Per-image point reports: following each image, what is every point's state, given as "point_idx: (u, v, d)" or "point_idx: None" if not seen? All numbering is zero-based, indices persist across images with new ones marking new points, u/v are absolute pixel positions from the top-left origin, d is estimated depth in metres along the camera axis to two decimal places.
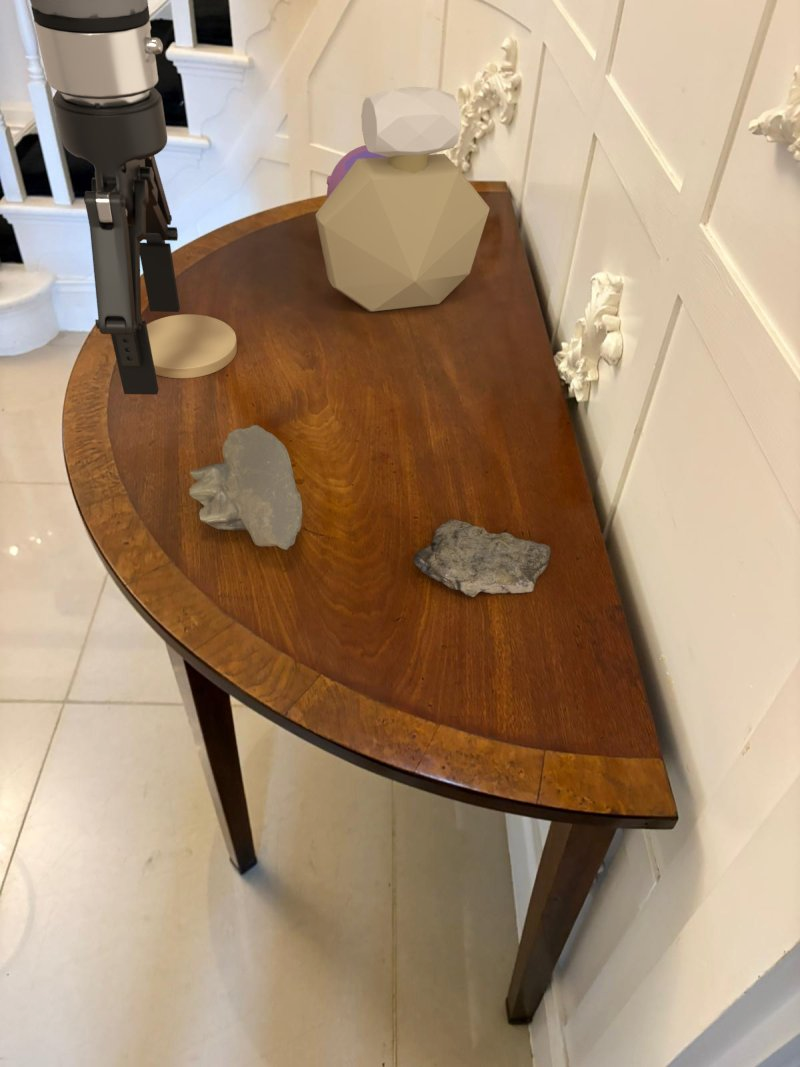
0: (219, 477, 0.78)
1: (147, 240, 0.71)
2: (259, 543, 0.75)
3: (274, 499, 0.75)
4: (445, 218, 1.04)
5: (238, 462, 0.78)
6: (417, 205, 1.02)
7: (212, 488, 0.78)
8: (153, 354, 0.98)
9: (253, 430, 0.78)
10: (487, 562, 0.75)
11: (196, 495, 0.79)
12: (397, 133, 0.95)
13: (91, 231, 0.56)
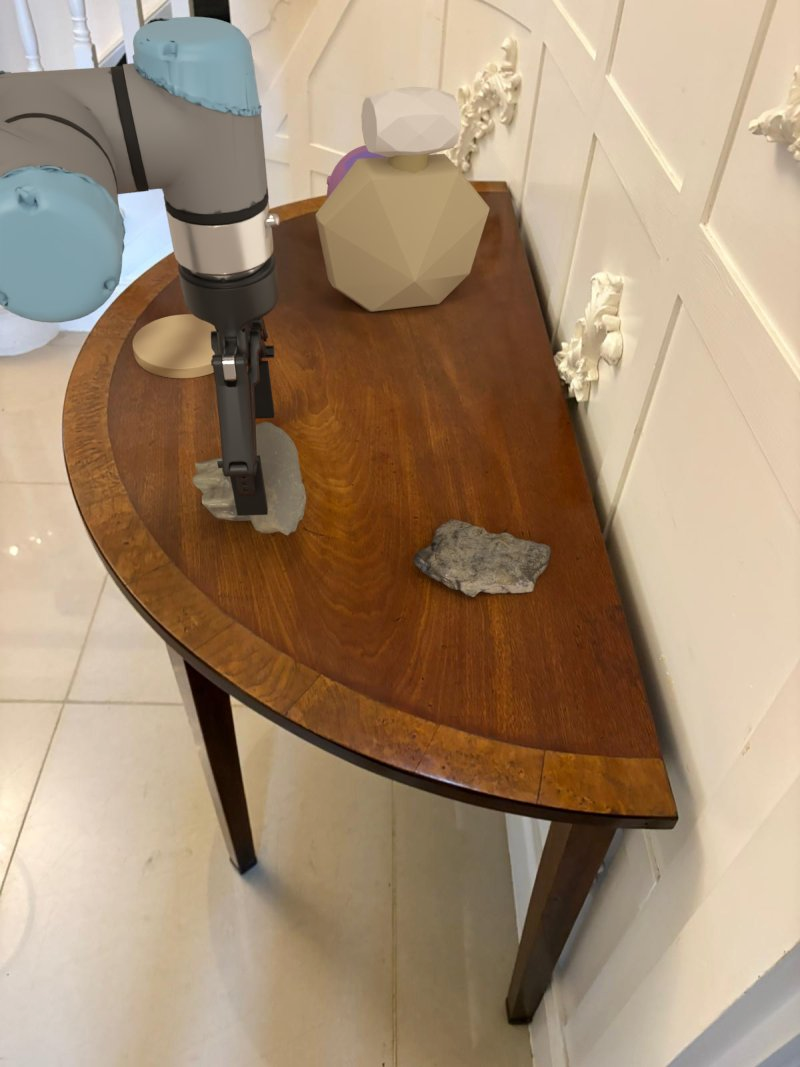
0: None
1: None
2: (260, 527, 0.74)
3: (279, 487, 0.75)
4: (445, 218, 1.04)
5: None
6: (417, 205, 1.02)
7: (217, 477, 0.78)
8: (153, 354, 0.98)
9: (263, 425, 0.80)
10: (487, 562, 0.75)
11: (199, 483, 0.79)
12: (397, 133, 0.95)
13: (217, 389, 0.61)
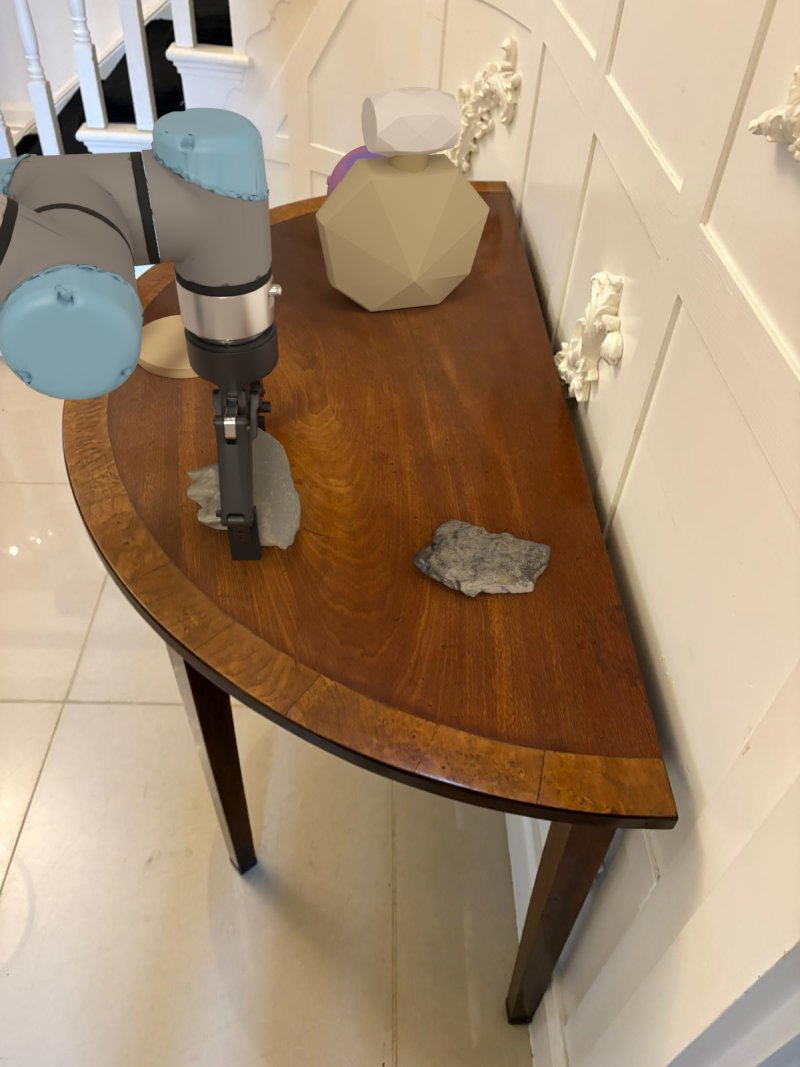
0: (217, 477, 0.78)
1: None
2: None
3: (272, 499, 0.75)
4: (445, 218, 1.04)
5: None
6: (417, 205, 1.02)
7: (210, 489, 0.78)
8: (153, 354, 0.98)
9: None
10: (487, 562, 0.75)
11: (194, 496, 0.79)
12: (397, 133, 0.95)
13: (217, 446, 0.65)
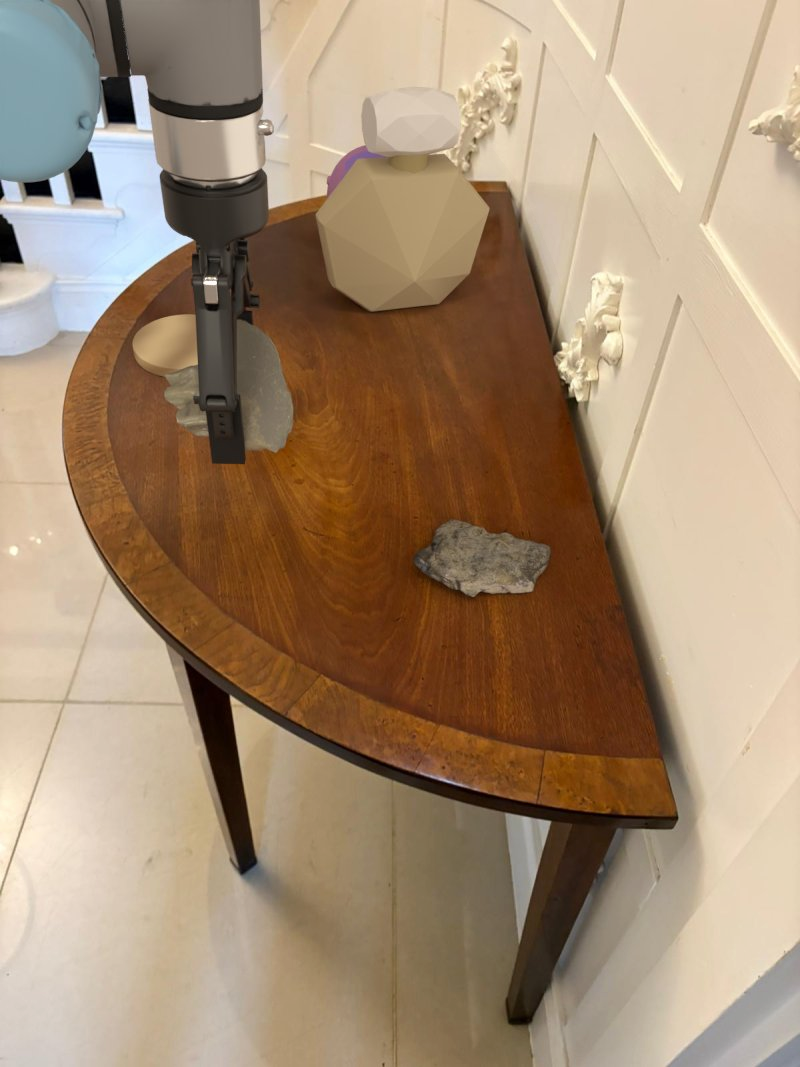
0: (198, 377, 0.69)
1: None
2: (245, 446, 0.66)
3: (261, 397, 0.66)
4: (445, 218, 1.04)
5: None
6: (417, 205, 1.02)
7: (191, 390, 0.69)
8: (153, 354, 0.98)
9: None
10: (487, 562, 0.75)
11: (172, 398, 0.70)
12: (397, 133, 0.95)
13: (196, 312, 0.56)
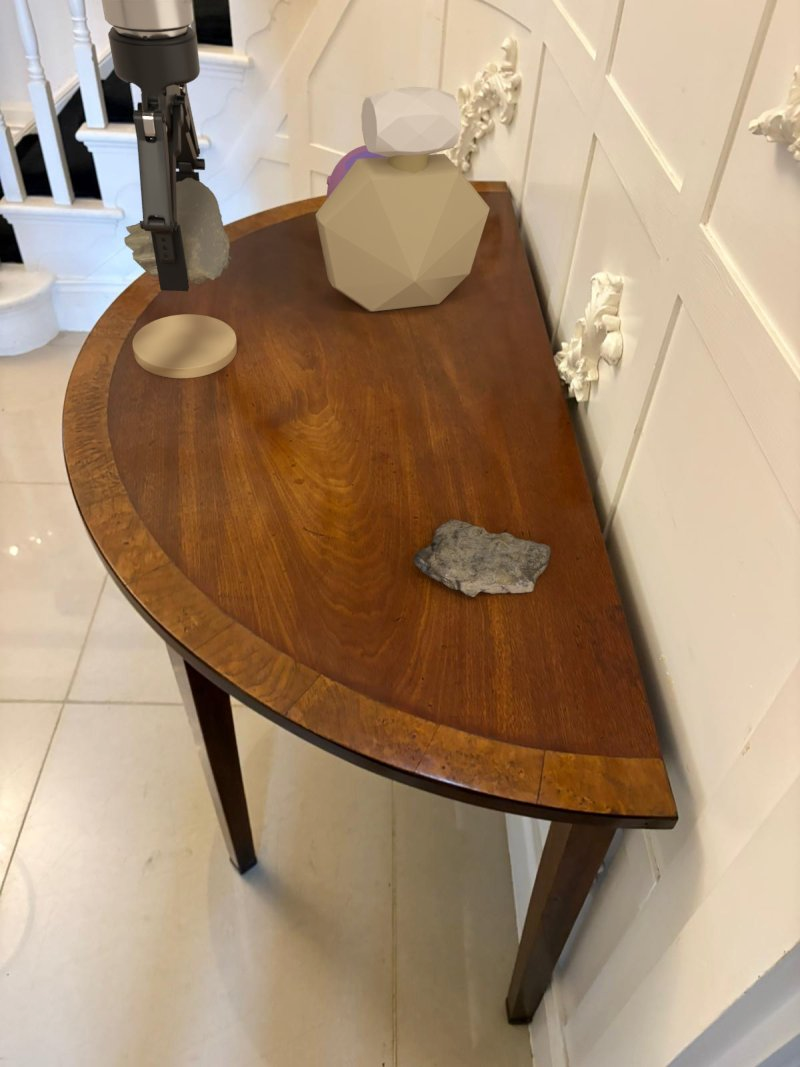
0: None
1: (179, 169, 0.84)
2: (188, 275, 0.79)
3: (202, 235, 0.79)
4: (445, 218, 1.04)
5: None
6: (417, 205, 1.02)
7: (146, 235, 0.83)
8: (153, 354, 0.98)
9: (184, 180, 0.83)
10: (487, 562, 0.75)
11: (131, 243, 0.83)
12: (397, 133, 0.95)
13: (138, 143, 0.69)
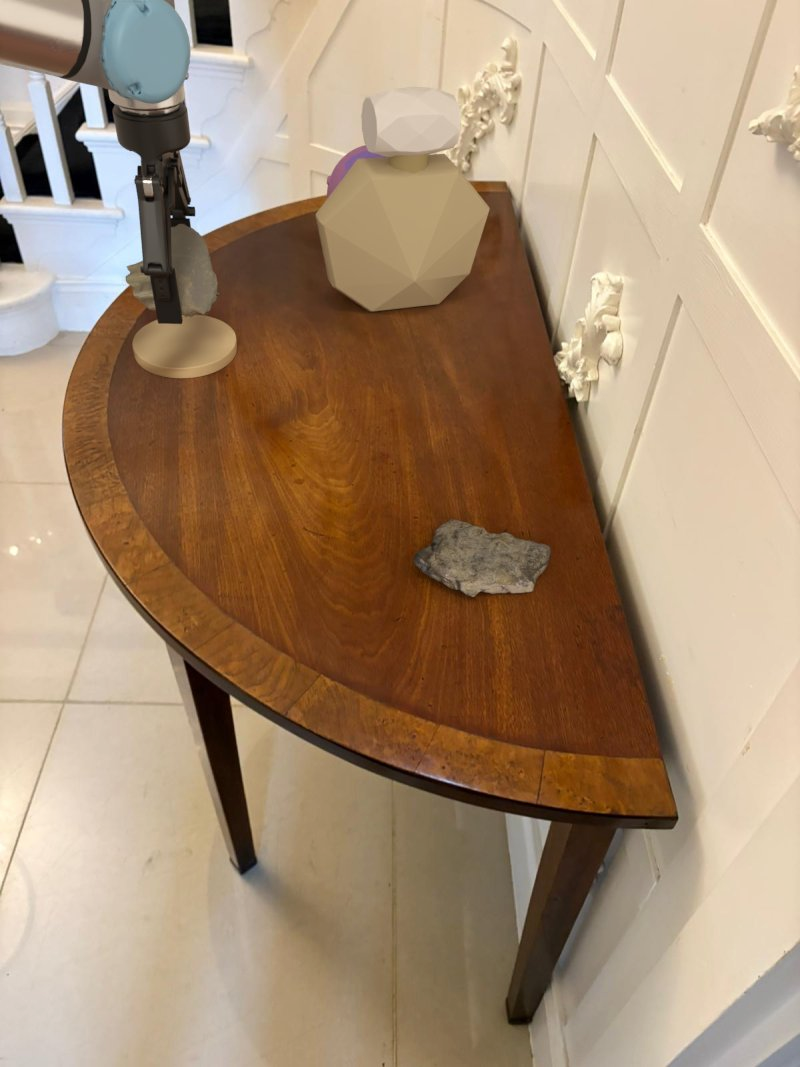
0: None
1: (173, 216, 0.96)
2: (182, 310, 0.91)
3: (193, 275, 0.92)
4: (445, 218, 1.04)
5: None
6: (417, 205, 1.02)
7: (144, 274, 0.95)
8: (153, 354, 0.98)
9: (177, 226, 0.95)
10: (487, 562, 0.75)
11: (131, 281, 0.95)
12: (397, 133, 0.95)
13: (138, 203, 0.81)
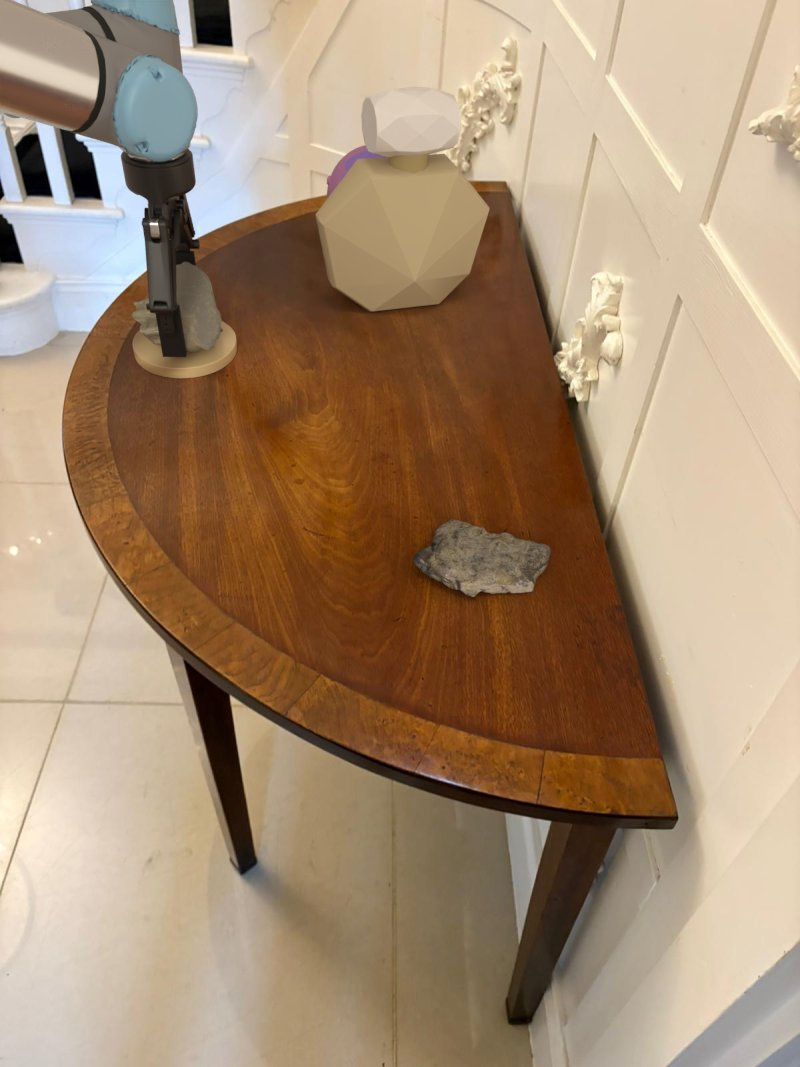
0: None
1: (178, 248, 1.00)
2: (187, 347, 0.95)
3: (198, 313, 0.95)
4: (445, 218, 1.04)
5: None
6: (417, 205, 1.02)
7: None
8: (153, 354, 0.98)
9: (182, 264, 0.99)
10: (487, 562, 0.75)
11: (138, 317, 0.99)
12: (397, 133, 0.95)
13: (145, 244, 0.84)
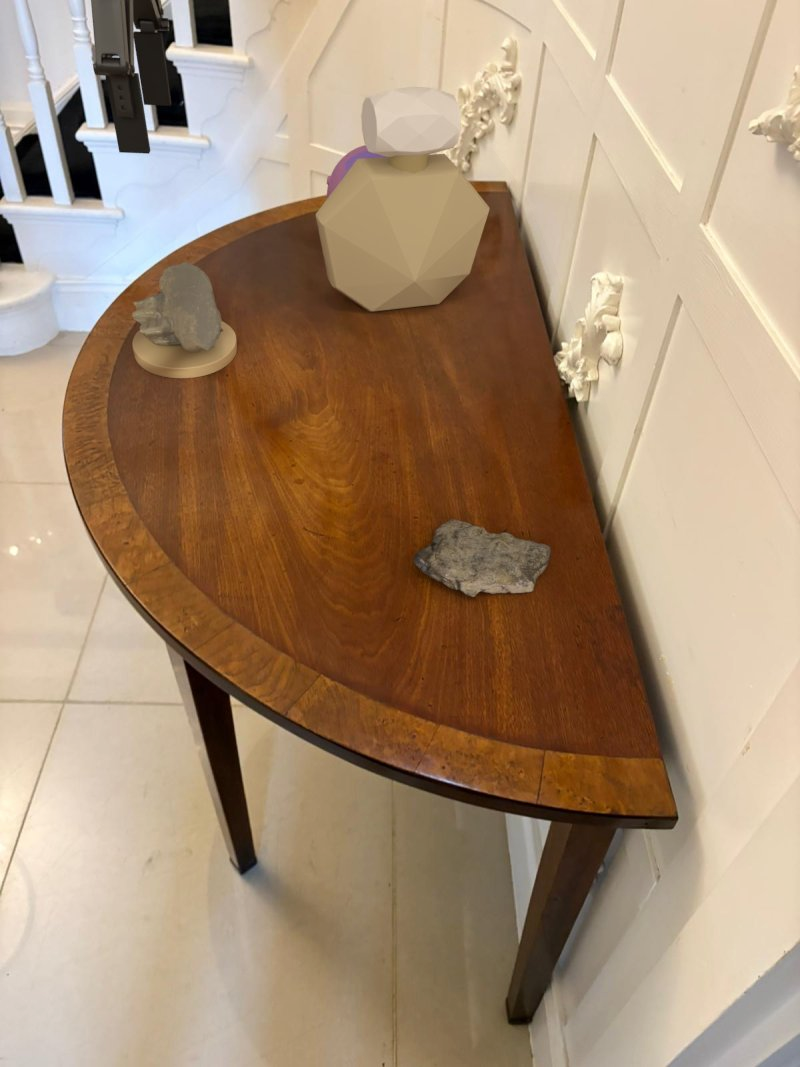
0: (156, 302, 0.99)
1: (141, 29, 0.78)
2: (187, 347, 0.95)
3: (198, 313, 0.95)
4: (445, 218, 1.04)
5: (170, 290, 0.98)
6: (417, 205, 1.02)
7: (150, 311, 0.98)
8: (153, 354, 0.98)
9: (182, 264, 0.99)
10: (487, 562, 0.75)
11: (138, 317, 0.99)
12: (397, 133, 0.95)
13: None
